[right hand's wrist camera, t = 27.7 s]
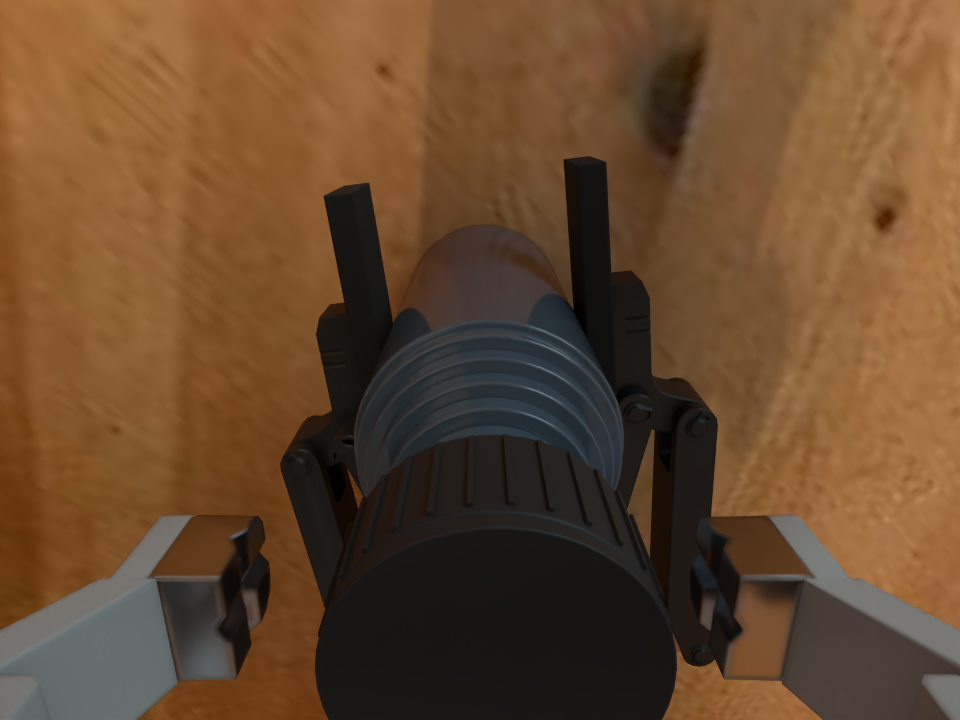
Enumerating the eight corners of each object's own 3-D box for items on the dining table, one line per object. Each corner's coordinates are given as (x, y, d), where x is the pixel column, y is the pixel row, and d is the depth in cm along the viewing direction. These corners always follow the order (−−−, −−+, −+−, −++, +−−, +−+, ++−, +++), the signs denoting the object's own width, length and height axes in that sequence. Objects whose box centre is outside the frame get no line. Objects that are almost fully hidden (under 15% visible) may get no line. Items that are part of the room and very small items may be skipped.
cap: (680, 612, 11) (733, 740, 9) (431, 706, 11) (421, 847, 9) (566, 379, 9) (594, 460, 7) (290, 505, 10) (236, 614, 8)
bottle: (583, 324, 26) (768, 689, 9) (458, 391, 27) (425, 827, 10) (513, 195, 24) (588, 364, 8) (381, 272, 25) (196, 567, 9)
